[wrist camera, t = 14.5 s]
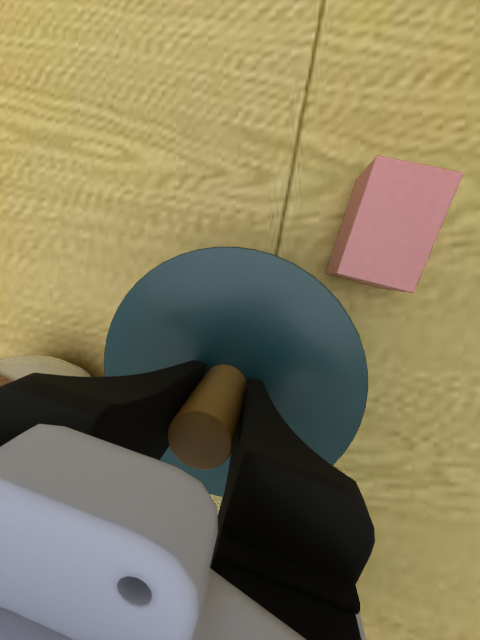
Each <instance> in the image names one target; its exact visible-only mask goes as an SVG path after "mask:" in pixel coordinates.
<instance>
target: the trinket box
mask: <svg viewBox="0 0 480 640" xmlns="http://www.w3.org/2000/svg"><path fill="white" fill-rule="evenodd" d="M34 372H35V373H43V374H54V375H64V376H79V377H92V376H91V375H90V374H89V373H88V372H87V371H86V370H84V369H83V368H81V367H79V366H77V365H74V364H71V363H69V362H67V361H65V360H62V359H59V358H55V357H50V356H43V355H24V356H14V357H8V358H2V359H0V386H2V385H5V384H7V383H10V382H12V381H14V380H17V379H19V378H22V377H24V376H26V375H29V374H31V373H34Z"/></svg>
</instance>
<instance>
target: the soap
mask: <svg viewBox="0 0 480 640" xmlns="http://www.w3.org/2000/svg"><path fill="white" fill-rule="evenodd" d="M462 175H463V172H458V171H453V170H448V169H443V168H438V167H433V166H428V165H423V164H418V163H413V162H408V161H403V160H398V159H393V158H388V157H383V156H378V155H377V156H376V157H375V158H374V159H373V161H372V162H371V163H370V164H369V165H368V167H367V168H366V169H365V170H364V171H363V173H362V174H361V175H360V176H359V177H358V179H357V180H356V183H355V186H354V189H353V192H352V195H351V198H350V201H349V204H348V207H347V210H346V213H345V216H344V220H343V223H342V226H341V229H340V232H339V235H338V238H337V241H336V244H335V247H334V250H333V253H332V256H331V259H330V262H329V265H328V268H327V271H326V274H329V275H333V276H337V277H341V278H345V279H348V280H352V281H356V282H360V283H364V284H368V285H372V286H376V287H380V288H384V289H388V290H395V291H402V292H410V293H413V292H414V290H415V288H416V286H417V283H418V281H419V278H420V276H421V274H422V271H423V269H424V266H425V264H426V262H427V259H428V257H429V254H430V252H431V250H432V247H433V245H434V242H435V240H436V238H437V235H438V233H439V230H440V228H441V226H442V223H443V221H444V219H445V216H446V214H447V211H448V209H449V207H450V204H451V202H452V199H453V197H454V195H455V192H456V190H457V187H458V185H459V183H460V180H461V178H462Z"/></svg>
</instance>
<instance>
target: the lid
mask: <svg viewBox="0 0 480 640" xmlns="http://www.w3.org/2000/svg"><path fill="white" fill-rule="evenodd" d="M192 360H196V361H200V362H203V363H206V368H205V372H204V376H203V378H202V380H201V381H200V382H199V384H198V385H197V386H196V388H195V389H194V391H193V392H192V393H191V395H190V396H189V398H188V399H187V400H186V402H185V403H184V405H183V406H182V407H181V409H180V410H179V411H178V413H177V414H176V416H175V417H174V418H173V420H172V421H171V423H170V426H169V429H168V442H169V445H170V446H169V447H168V449H167V450H166V452H165V453H164V455H163V456H162V458H161V459H160V461H162V462H165V463H168V464H170V465H173V466H176V467H178V468H180V469H181V470H183V471H185V472H186V473H188V474H189V475H191V476H193V477H194V478H196V479H197V480H199V481H200V482H201V483H202V484H203V485H204V487H205V489H206V490H207V492H208V493H209V494H212V495H216V496H221V497H223V495H224V491H225V486H226V481H227V475H228V469H229V463H230V456H231V451H232V448H233V444H234V440H235V436H236V432H237V429H238V425H239V421H240V417H241V413H242V408H243V402H244V398H245V394H246V390H247V387H248V383H249V380H250V377H251V378H254V379H257V380H260V381H263V383H264V385H265V387H266V390H267V392H268V394H269V396H270V398H271V400H272V402H273V404H274V406H275V407H276V409H277V410H278V412H279V413H280V415H281V416H282V418H283V419H284V420H285V422H286V423H287V424H288V425H289V427H290V428H291V429H292V430H293V431H294V432H295V433H296V435H297V436H298V437H299V438H300V439H301V440H302V441H303V442H305V443H306V444H307V445H308V446H309V447H310V448H311V449H312V450H313V451H314V452H316V453H317V454H318V455H319V456H321V457H322V458H323V459H324V460H325V461H327V462H328V463H329V464H331V465H332V466H333V465H334V464H335V463H336V462H337V460H338V459H339V458H340V457H341V456H342V455H343V454H344V452H345V451H346V450H347V448H348V447H349V445H350V443H351V442H352V440H353V439H354V437H355V435H356V433H357V430H358V428H359V426H360V424H361V421H362V417H363V414H364V410H365V407H366V400H367V392H368V370H367V364H366V358H365V353H364V349H363V346H362V343H361V340H360V337H359V334H358V332H357V330H356V328H355V326H354V324H353V322H352V320H351V318H350V316H349V315H348V314H347V312H346V311H345V309H344V308H343V306H342V305H341V303H340V302H339V301H338V300H337V298H336V297H335V296H334V295H333V294H332V293H331V292H330V291H329V290H328V289H327V288H326V287H325V286H324V285H323V284H322V283H321V282H319V281H318V280H317V279H316V278H315V277H313V276H312V275H311V274H310V273H308V272H306V271H305V270H303V269H301V268H300V267H298V266H297V265H295V264H293V263H291V262H289V261H287V260H285V259H282V258H280V257H278V256H275V255H273V254H269V253H266V252H262V251H258V250H255V249H248V248H240V247H212V248H205V249H198V250H194V251H191V252H188V253H184V254H181V255H178V256H176V257H174V258H172V259H170V260H167V261H165V262H163V263H162V264H160V265H159V266H157V267H156V268H154V269H152V270H151V271H150V272H148V273H147V274H146V275H145V276H144V277H143V278H141V279H140V280H139V281H138V282H137V283H136V284H135V285H134V287H133V288H132V289H131V290H130V291H129V292H128V293H127V295H126V296H125V298H124V299H123V301H122V302H121V304H120V306H119V307H118V309H117V311H116V313H115V315H114V318H113V320H112V322H111V325H110V329H109V332H108V335H107V340H106V346H105V353H104V372H105V377H109V376H126V375H134V374H141V373H147V372H152V371H156V370H160V369H164V368H168V367H171V366H175V365H178V364H181V363H185V362H188V361H192Z"/></svg>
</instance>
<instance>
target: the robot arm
mask: <svg viewBox="0 0 480 640" xmlns="http://www.w3.org/2000/svg"><path fill="white" fill-rule="evenodd" d="M205 368H206V363H203V362H200V361H196V360H192V361H188V362H185V363H181V364H178V365H175V366H171V367H168V368H164V369H160V370H156V371H152V372H147V373H141V374H134V375H126V376H109V377H79V376H64V375H54V374H43V373H35V372H34V373H31V374H29V375H26V376H24V377H22V378H19V379H17V380H14V381H12V382H10V383H7V384H5V385H2V386H0V640H366V638H365V633H364V629H363V625H362V621H361V617H360V613H359V612H360V601H359V597H358V594H357V590H356V586H355V584H356V582H357V581H358V579H359V577H360V575H361V573H362V571H363V569H364V567H365V565H366V563H367V561H368V559H369V557H370V555H371V552H372V549H373V546H374V543H375V534H374V526H373V524H372V521H371V518H370V516H369V513H368V510H367V507H366V504H365V502H364V499H363V497H362V494H361V492H360V490H359V488H358V486H357V483H356V481H354V480H353V479H351V478H350V477H348V476H347V475H345V474H344V473H342V472H341V471H339V470H338V469H337V468H335V467H334V466H332V465H331V464H329V463H328V462H327V461H325V460H324V459H323V458H322V457H321V456H319V455H318V454H317V453H316V452H314V451H313V450H312V449H311V448H310V447H309V446H308V445H307V444H306V443H305V442H303V441H302V440H301V439H300V438H299V437H298V436H297V435H296V433H295V432H294V431H293V430H292V429H291V428H290V427H289V425H288V424H287V423H286V422H285V420H284V419H283V418H282V416H281V415H280V413H279V412H278V410H277V409H276V407H275V406H274V404H273V402H272V400H271V398H270V396H269V394H268V392H267V390H266V387H265V385H264V383H263V381H260V380H257V379H254V378H251V377H250V380H249V383H248V387H247V390H246V394H245V398H244V402H243V408H242V413H241V417H240V421H239V425H238V429H237V432H236V436H235V440H234V444H233V448H232V451H231V456H230V463H229V469H228V475H227V481H226V486H225V491H224V495H223V498H222V502H221V506H220V510H219V514H217V506H216V504H215V503H214V501H213V500H212V498H211V496H210V495H209V493H208V492H207V490H206V489H205V487H204V485H203V484H202V483H201V482H200V481H199V480H197V479H196V478H194V477H193V476H191V475H189V474H188V473H186V472H185V471H183V470H181V469H180V468H178V467H176V466H173V465H170V464H168V463H165V462H162V461H160V459H161V458H162V456H163V455H164V453H165V452H166V450H167V449H168V447H169V446H170V445H169V442H168V429H169V426H170V423H171V421H172V420H173V418H174V417H175V416H176V414H177V413H178V411H179V410H180V409H181V407H182V406H183V405H184V403H185V402H186V400H187V399H188V398H189V396H190V395H191V393H192V392H193V391H194V389H195V388H196V386H197V385H198V384H199V382H200V381H201V380H202V378H203V376H204V372H205Z"/></svg>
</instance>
